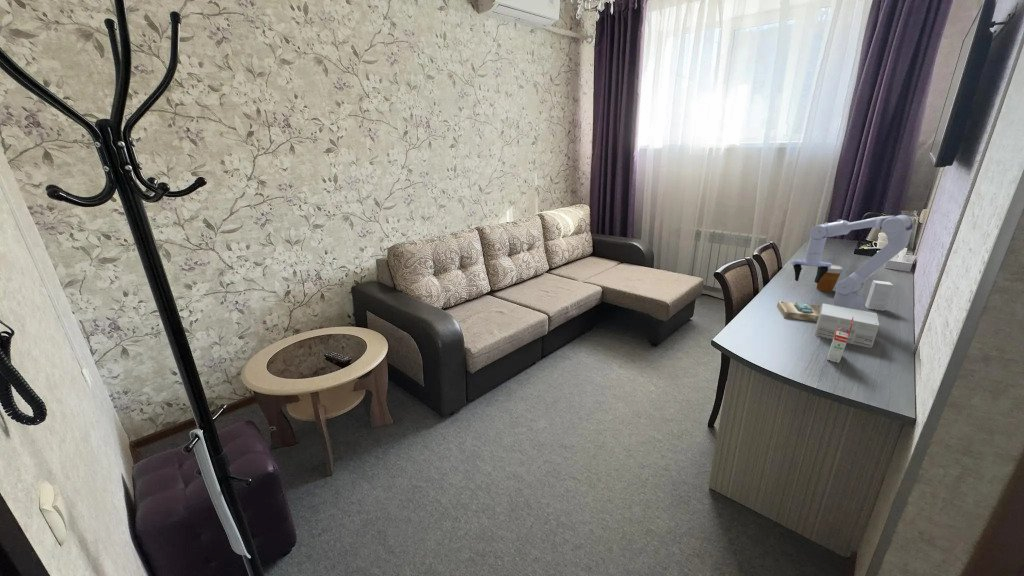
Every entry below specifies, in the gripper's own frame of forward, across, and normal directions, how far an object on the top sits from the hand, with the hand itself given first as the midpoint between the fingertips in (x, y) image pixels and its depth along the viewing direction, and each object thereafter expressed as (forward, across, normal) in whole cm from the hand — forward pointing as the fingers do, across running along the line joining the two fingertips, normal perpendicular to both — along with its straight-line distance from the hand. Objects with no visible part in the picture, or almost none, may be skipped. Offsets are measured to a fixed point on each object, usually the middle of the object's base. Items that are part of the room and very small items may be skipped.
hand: (806, 281), depth 184 cm
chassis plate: (+9, +4, +17) cm, 20 cm away
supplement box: (+10, -5, +34) cm, 35 cm away
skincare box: (+10, -28, -1) cm, 30 cm away
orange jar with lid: (+10, -15, -20) cm, 27 cm away
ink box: (+10, +4, +54) cm, 55 cm away
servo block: (+9, +4, +17) cm, 20 cm away
